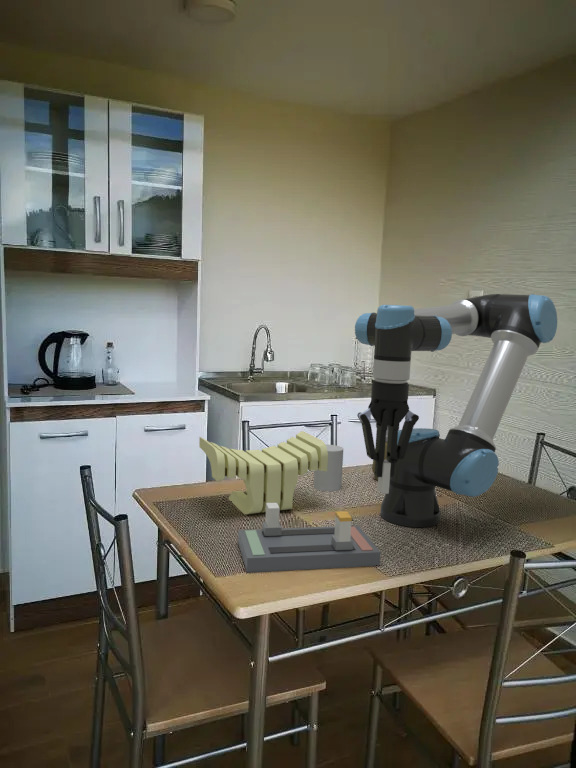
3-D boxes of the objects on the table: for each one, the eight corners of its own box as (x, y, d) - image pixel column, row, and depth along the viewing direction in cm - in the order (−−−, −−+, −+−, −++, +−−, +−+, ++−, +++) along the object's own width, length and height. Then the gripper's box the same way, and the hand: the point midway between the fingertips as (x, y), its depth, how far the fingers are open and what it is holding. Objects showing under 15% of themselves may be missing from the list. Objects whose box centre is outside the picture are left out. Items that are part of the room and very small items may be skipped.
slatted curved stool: (216, 522, 146) (217, 451, 144) (198, 501, 160) (199, 436, 158) (325, 509, 158) (328, 443, 156) (299, 491, 173) (302, 430, 170)
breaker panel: (357, 537, 140) (359, 498, 139) (379, 565, 125) (382, 522, 124) (238, 542, 134) (239, 501, 133) (246, 572, 120) (248, 526, 118)
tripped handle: (347, 542, 128) (349, 511, 127) (352, 549, 125) (354, 517, 124) (331, 543, 128) (332, 511, 127) (335, 550, 124) (337, 517, 123)
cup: (324, 481, 183) (326, 443, 181) (346, 487, 178) (348, 448, 176) (308, 487, 177) (310, 447, 175) (330, 493, 172) (332, 452, 170)
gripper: (413, 378, 128) (405, 485, 131) (354, 377, 125) (348, 486, 129) (427, 383, 121) (419, 496, 124) (366, 382, 118) (359, 497, 121)
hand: (383, 491), depth 126 cm, fingers closed
